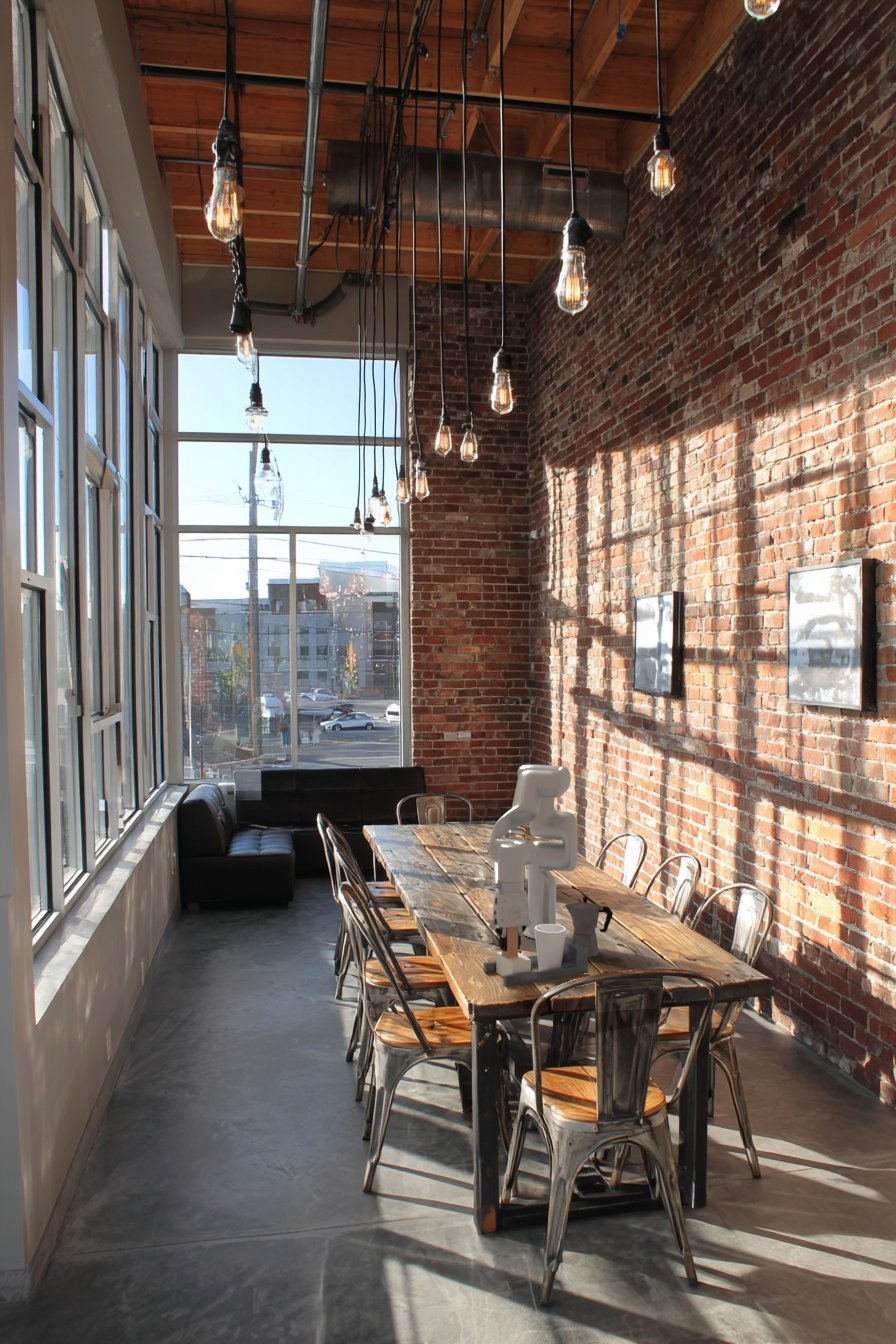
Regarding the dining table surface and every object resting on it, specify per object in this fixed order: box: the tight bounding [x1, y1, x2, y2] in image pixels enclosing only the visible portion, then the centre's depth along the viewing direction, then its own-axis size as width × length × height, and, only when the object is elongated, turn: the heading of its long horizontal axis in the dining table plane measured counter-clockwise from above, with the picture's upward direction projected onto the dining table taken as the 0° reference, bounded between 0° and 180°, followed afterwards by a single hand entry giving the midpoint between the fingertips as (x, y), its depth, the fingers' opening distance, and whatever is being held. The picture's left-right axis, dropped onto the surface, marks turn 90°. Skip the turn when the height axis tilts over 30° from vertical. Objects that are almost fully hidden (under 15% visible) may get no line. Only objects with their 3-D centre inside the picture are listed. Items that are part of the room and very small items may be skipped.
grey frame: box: [483, 935, 589, 987], centre depth 279 cm, size 14×28×8 cm, turn 115°
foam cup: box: [534, 924, 567, 970], centre depth 281 cm, size 10×9×13 cm
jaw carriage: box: [495, 927, 532, 978], centre depth 276 cm, size 10×6×18 cm, turn 25°
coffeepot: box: [564, 896, 614, 958], centre depth 300 cm, size 15×9×18 cm, turn 69°
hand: (509, 948), depth 276 cm, fingers closed on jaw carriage, 3 cm apart
